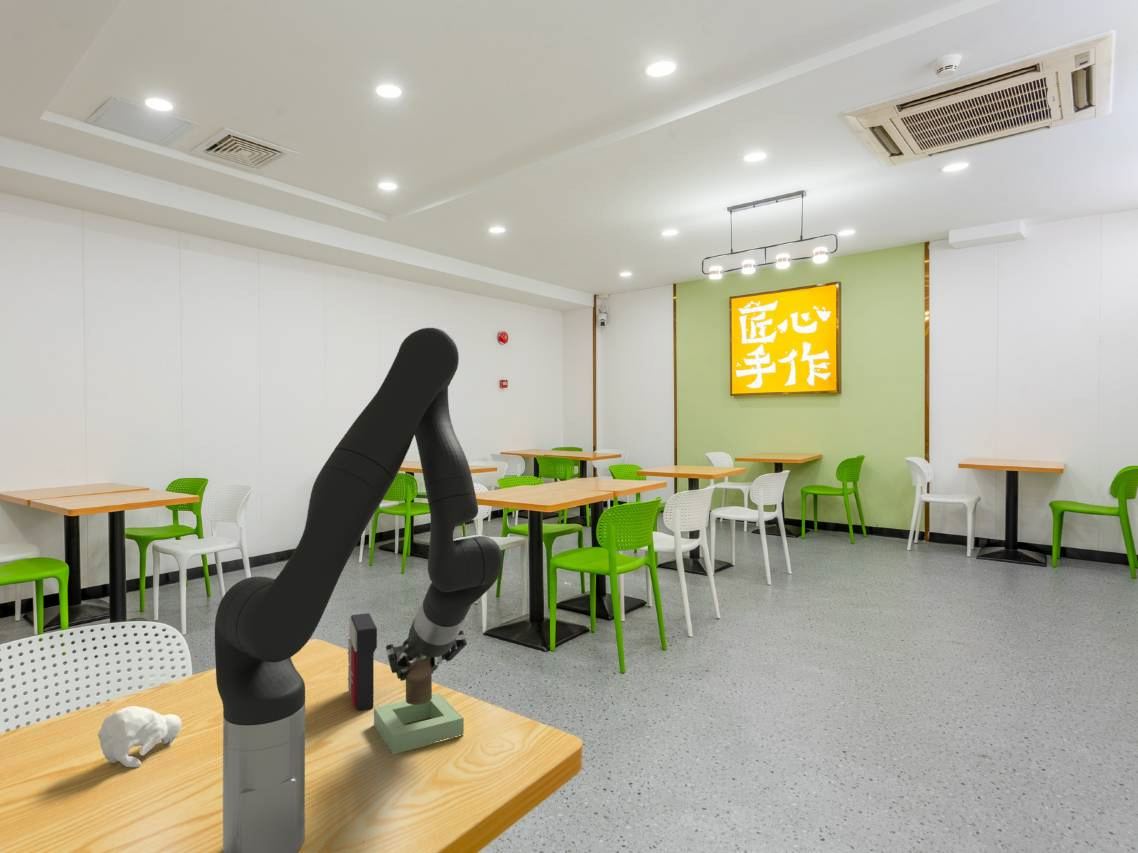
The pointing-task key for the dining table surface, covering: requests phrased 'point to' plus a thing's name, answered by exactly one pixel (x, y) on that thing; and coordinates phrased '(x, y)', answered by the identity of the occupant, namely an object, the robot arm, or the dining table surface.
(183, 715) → the dining table surface
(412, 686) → the walnut pin
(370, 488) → the robot arm
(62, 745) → the dining table surface
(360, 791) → the dining table surface
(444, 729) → the socket block
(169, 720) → the white animal figurine
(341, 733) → the dining table surface
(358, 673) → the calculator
